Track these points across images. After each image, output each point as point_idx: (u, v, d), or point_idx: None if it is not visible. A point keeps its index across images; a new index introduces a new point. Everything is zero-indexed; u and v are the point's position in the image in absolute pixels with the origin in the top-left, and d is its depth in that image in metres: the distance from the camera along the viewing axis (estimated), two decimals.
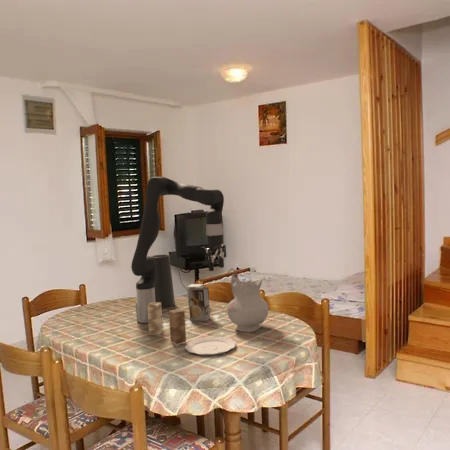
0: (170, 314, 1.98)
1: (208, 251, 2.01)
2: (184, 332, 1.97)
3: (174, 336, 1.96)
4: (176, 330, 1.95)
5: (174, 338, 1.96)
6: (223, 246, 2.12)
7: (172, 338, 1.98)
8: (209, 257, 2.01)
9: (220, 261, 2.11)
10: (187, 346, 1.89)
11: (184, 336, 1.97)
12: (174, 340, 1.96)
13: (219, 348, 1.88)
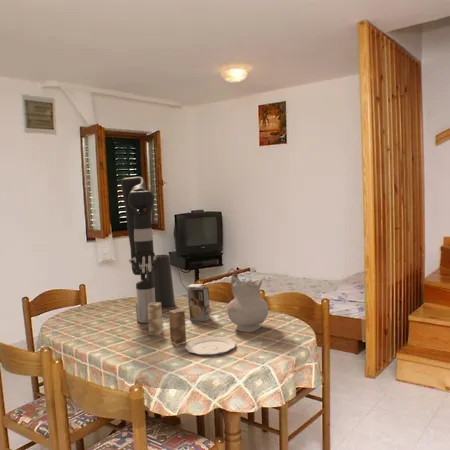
0: (170, 314, 1.98)
1: None
2: (184, 332, 1.97)
3: (174, 336, 1.96)
4: (176, 330, 1.95)
5: (174, 338, 1.96)
6: None
7: (172, 338, 1.98)
8: None
9: None
10: (187, 346, 1.89)
11: (184, 336, 1.97)
12: (174, 340, 1.96)
13: (219, 348, 1.88)
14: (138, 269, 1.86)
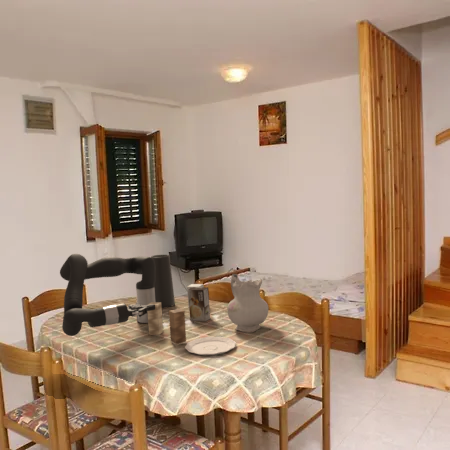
0: (170, 314, 1.98)
1: (141, 311, 1.83)
2: (184, 332, 1.97)
3: (174, 336, 1.96)
4: (176, 330, 1.95)
5: (174, 338, 1.96)
6: (129, 306, 1.91)
7: (172, 338, 1.98)
8: (145, 308, 1.85)
9: None
10: (187, 346, 1.89)
11: (184, 336, 1.97)
12: (174, 340, 1.96)
13: (219, 348, 1.88)
14: None
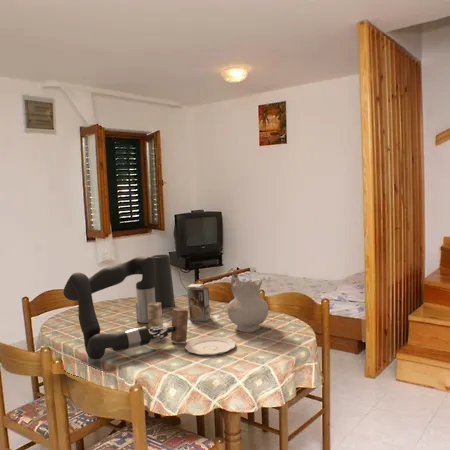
0: (173, 312, 1.98)
1: (163, 333, 1.88)
2: (185, 332, 1.97)
3: (175, 334, 1.96)
4: (178, 328, 1.95)
5: (175, 336, 1.96)
6: (150, 328, 1.96)
7: (173, 336, 1.98)
8: (165, 330, 1.90)
9: None
10: (187, 346, 1.89)
11: (185, 336, 1.97)
12: (175, 338, 1.96)
13: (219, 348, 1.88)
14: None
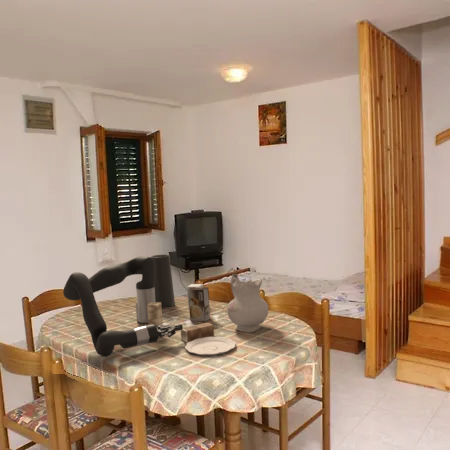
0: (205, 323, 2.08)
1: (170, 331, 1.90)
2: None
3: (192, 329, 2.00)
4: (198, 329, 2.01)
5: (190, 329, 2.00)
6: (157, 326, 1.98)
7: (187, 328, 2.01)
8: (173, 328, 1.93)
9: None
10: (187, 346, 1.89)
11: (192, 339, 1.99)
12: (188, 329, 1.99)
13: (219, 348, 1.88)
14: None
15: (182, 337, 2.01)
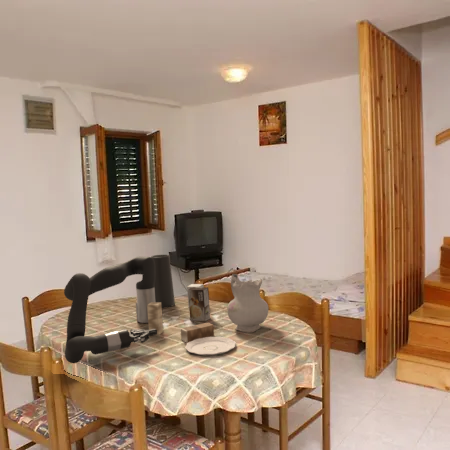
0: (205, 323, 2.07)
1: (143, 337, 1.84)
2: None
3: (192, 329, 2.00)
4: (198, 329, 2.01)
5: (190, 329, 2.00)
6: (131, 331, 1.92)
7: (187, 328, 2.01)
8: (147, 333, 1.86)
9: None
10: (187, 346, 1.89)
11: (192, 339, 1.99)
12: (188, 329, 1.99)
13: (219, 348, 1.88)
14: None
15: (182, 337, 2.01)
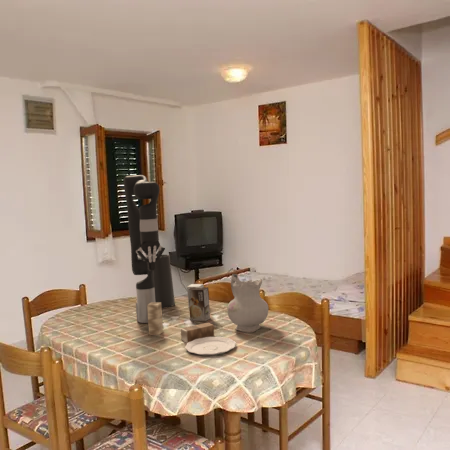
0: (206, 323, 2.07)
1: None
2: None
3: (192, 329, 2.00)
4: (198, 329, 2.01)
5: (190, 329, 2.00)
6: None
7: (187, 328, 2.01)
8: None
9: None
10: (187, 346, 1.89)
11: (192, 339, 1.99)
12: (188, 329, 1.99)
13: (219, 348, 1.88)
14: (145, 259, 1.90)
15: (182, 337, 2.01)
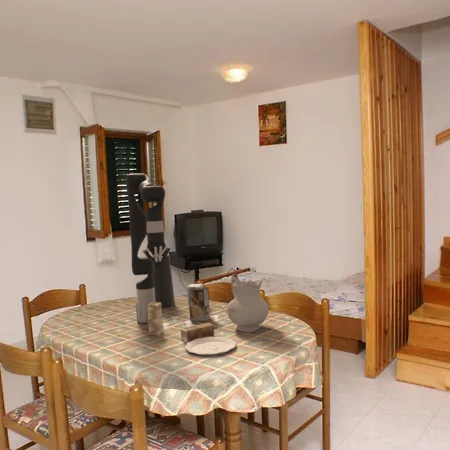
0: (206, 323, 2.07)
1: None
2: None
3: (192, 329, 2.00)
4: (198, 329, 2.01)
5: (190, 329, 2.00)
6: None
7: (187, 328, 2.01)
8: None
9: None
10: (187, 346, 1.89)
11: (192, 339, 1.99)
12: (188, 329, 1.99)
13: (219, 348, 1.88)
14: (152, 258, 2.01)
15: (182, 337, 2.01)
